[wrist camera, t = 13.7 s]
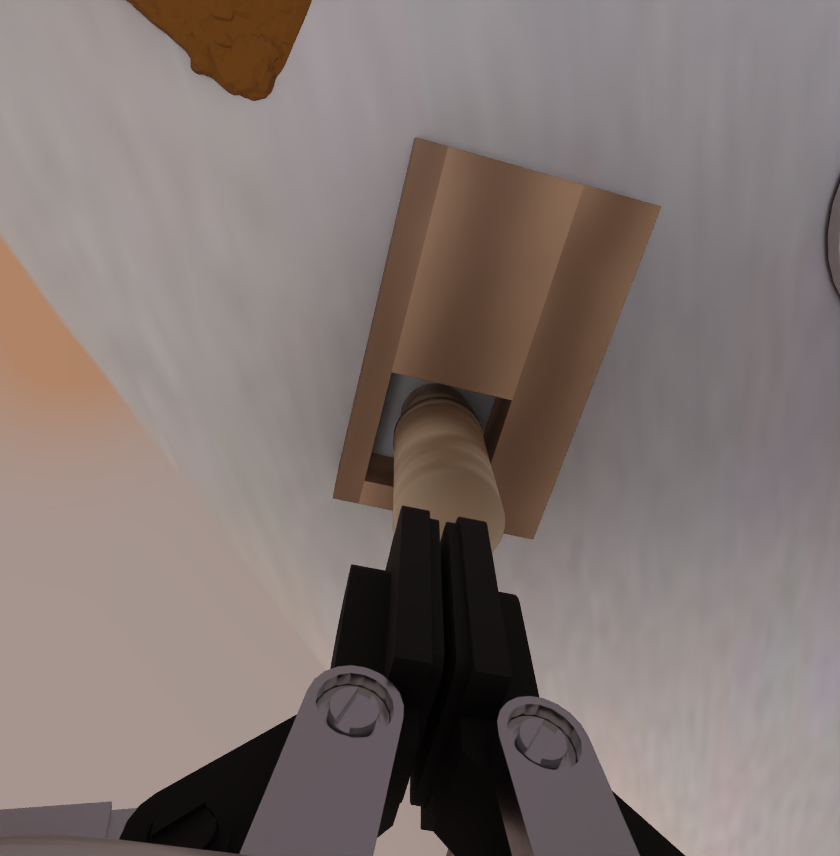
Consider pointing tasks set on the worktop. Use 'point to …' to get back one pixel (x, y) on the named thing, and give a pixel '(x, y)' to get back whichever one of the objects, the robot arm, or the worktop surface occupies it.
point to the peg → (444, 461)
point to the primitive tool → (232, 37)
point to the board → (496, 314)
